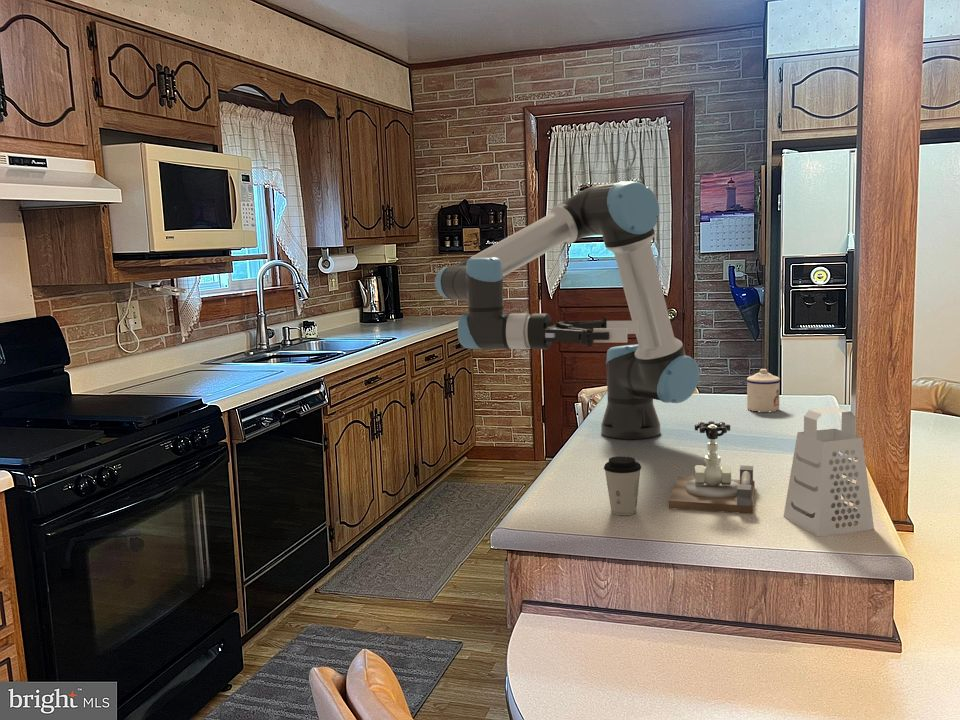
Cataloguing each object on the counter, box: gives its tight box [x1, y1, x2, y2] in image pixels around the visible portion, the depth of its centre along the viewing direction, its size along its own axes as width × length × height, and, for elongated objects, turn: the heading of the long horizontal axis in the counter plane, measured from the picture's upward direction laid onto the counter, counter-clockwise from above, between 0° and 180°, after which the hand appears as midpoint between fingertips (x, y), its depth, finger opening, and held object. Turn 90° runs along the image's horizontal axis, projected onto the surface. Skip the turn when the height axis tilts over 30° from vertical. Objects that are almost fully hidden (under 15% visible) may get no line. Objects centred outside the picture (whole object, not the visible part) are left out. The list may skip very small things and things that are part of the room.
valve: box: [693, 420, 732, 486], centre depth 159 cm, size 7×7×12 cm
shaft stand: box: [667, 465, 756, 515], centre depth 160 cm, size 16×15×4 cm
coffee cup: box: [603, 455, 642, 516], centre depth 154 cm, size 7×7×10 cm
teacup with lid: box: [746, 368, 781, 413], centre depth 236 cm, size 12×9×12 cm
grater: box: [783, 406, 875, 537], centre depth 143 cm, size 10×10×20 cm
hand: (633, 331), depth 165 cm, fingers open, 13 cm apart
